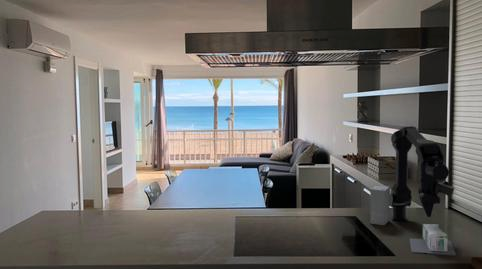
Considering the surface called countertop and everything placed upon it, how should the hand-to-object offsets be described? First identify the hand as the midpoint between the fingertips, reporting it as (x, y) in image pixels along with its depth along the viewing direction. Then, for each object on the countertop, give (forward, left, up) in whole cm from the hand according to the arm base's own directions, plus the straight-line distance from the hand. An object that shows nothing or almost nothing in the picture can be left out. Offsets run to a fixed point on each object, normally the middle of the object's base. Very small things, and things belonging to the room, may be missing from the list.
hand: (428, 216), depth 157 cm
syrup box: (-1, 0, -6) cm, 6 cm away
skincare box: (-21, -18, -9) cm, 29 cm away
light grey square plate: (+8, 0, -9) cm, 12 cm away
